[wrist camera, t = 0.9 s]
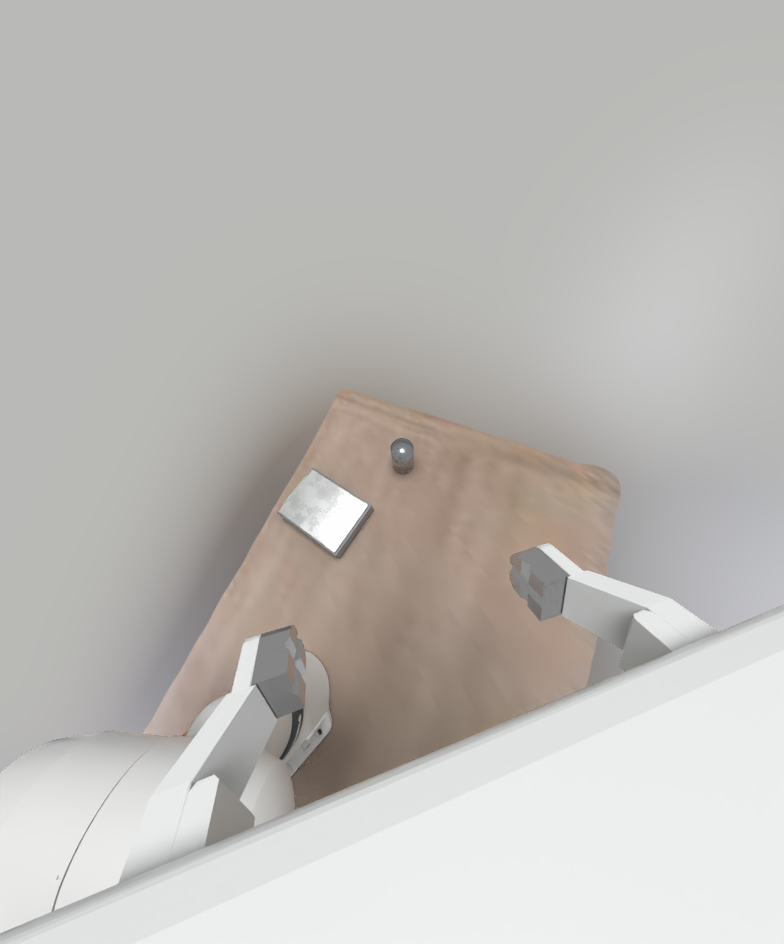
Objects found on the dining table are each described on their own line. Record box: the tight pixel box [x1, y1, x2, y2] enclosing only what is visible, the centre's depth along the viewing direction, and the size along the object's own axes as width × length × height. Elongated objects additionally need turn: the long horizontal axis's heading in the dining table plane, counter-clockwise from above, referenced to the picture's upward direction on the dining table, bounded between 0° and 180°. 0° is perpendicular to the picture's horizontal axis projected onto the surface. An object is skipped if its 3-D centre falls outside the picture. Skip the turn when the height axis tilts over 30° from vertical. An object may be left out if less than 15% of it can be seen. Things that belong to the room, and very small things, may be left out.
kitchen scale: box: [277, 468, 373, 558], centre depth 65 cm, size 13×18×5 cm
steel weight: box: [391, 438, 413, 474], centre depth 67 cm, size 5×5×9 cm
